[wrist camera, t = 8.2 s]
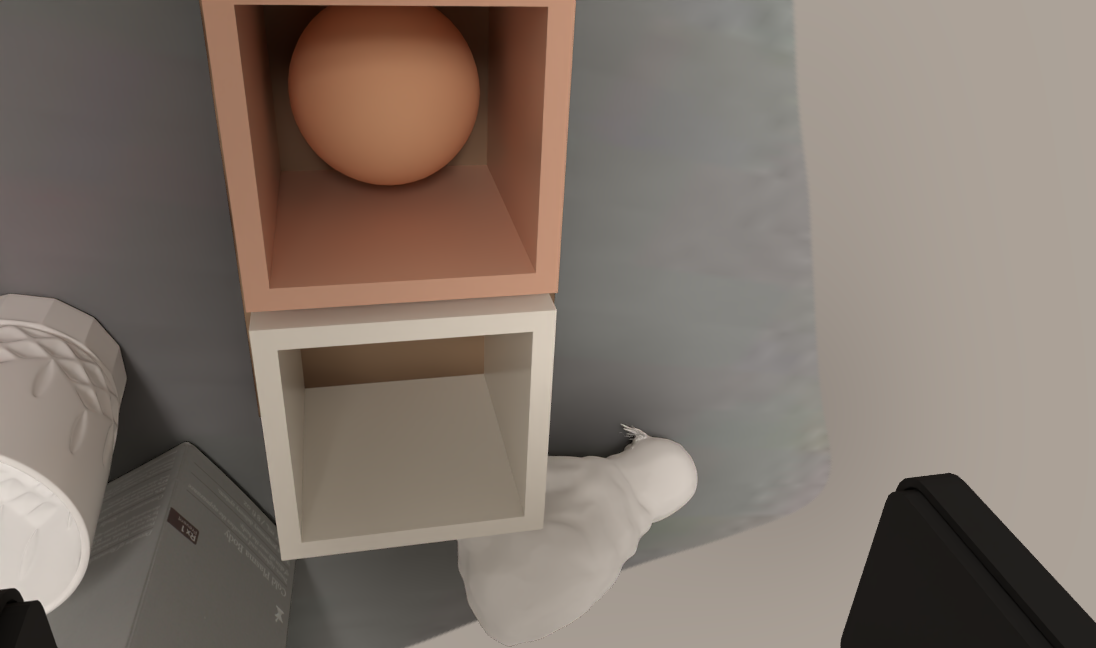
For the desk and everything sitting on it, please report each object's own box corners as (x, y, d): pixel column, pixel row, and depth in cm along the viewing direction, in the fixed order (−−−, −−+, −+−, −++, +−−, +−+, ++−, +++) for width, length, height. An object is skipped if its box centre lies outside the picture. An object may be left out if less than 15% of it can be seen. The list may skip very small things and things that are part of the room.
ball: (282, -28, 29) (273, 12, 24) (466, -25, 30) (495, 14, 25) (299, 150, 32) (294, 219, 27) (466, 145, 33) (491, 211, 28)
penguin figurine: (462, 595, 34) (740, 483, 36) (420, 462, 41) (655, 374, 43) (499, 692, 38) (752, 585, 39) (455, 553, 45) (671, 468, 47)
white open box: (264, 205, 32) (248, 331, 25) (504, 196, 34) (556, 310, 27) (288, 403, 37) (281, 560, 29) (499, 385, 39) (543, 529, 31)
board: (133, -502, 23) (117, -527, 21) (588, -448, 26) (609, -466, 24) (260, 400, 38) (257, 431, 36) (543, 376, 41) (553, 404, 39)
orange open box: (230, -78, 28) (197, -28, 20) (511, -71, 29) (577, -23, 22) (262, 190, 32) (246, 312, 25) (504, 181, 34) (557, 292, 26)
